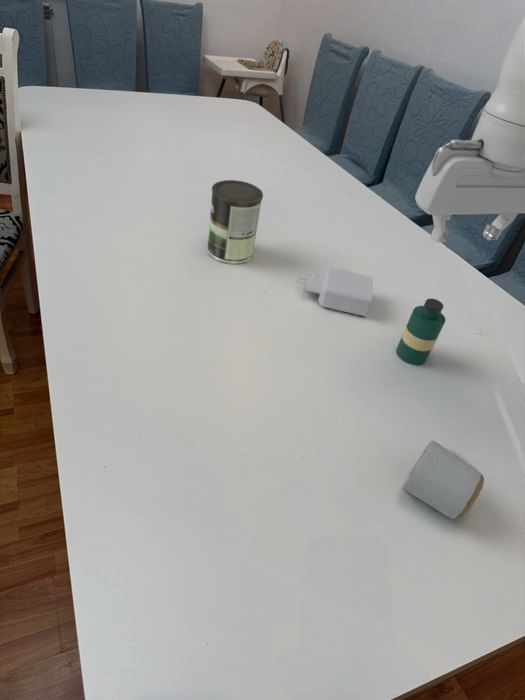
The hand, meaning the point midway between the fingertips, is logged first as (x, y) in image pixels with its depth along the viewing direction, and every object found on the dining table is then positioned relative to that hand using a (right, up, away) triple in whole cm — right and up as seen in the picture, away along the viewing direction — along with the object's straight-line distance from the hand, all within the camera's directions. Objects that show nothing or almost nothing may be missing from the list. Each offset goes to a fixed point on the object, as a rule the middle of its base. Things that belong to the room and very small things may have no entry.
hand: (464, 239), depth 72 cm
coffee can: (-36, +5, +37) cm, 52 cm away
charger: (-16, -6, +29) cm, 33 cm away
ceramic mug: (-6, -35, -4) cm, 36 cm away
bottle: (-2, -17, +19) cm, 25 cm away
